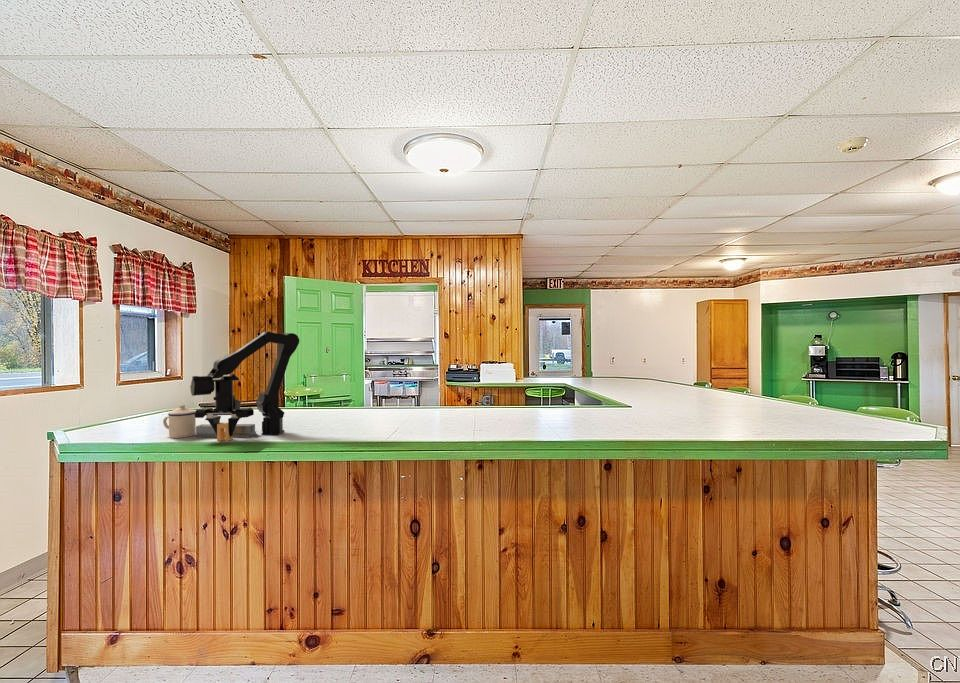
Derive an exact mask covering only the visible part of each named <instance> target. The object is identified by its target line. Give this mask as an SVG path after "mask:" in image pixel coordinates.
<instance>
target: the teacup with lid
mask: <svg viewBox="0 0 960 683" xmlns="http://www.w3.org/2000/svg"><path fill="white" fill-rule="evenodd" d="M195 411H196V410H195V409H192V408H190V407H188V406H186V404H179V405H178V407H177V408H175V409H173V410H171V411H169V412H168V413H167V415H168V416H165V417H164V418H163V420H162V423H163V426H164V428H165V429H166V430H168V437H170V438H171V437H172V439H179V438H180V439H181V438H182V437H184V438H190V437H193V436H195V435H196V426H197V425H196V424H197V423H196V420H197V418H195Z"/></svg>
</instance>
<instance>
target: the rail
mask: <svg viewBox="0 0 960 683" xmlns="http://www.w3.org/2000/svg"><path fill="white" fill-rule="evenodd" d="M255 435H257V431H256V424H255V423H237V424H236V427H235V429H234V432H233V435H232V438H251V437H253V436H255ZM195 437H216V439H217V435H216V433H215V431H214V429H213V427H212V426H211V424H210V423H208V424H206V423H204V424H202V423H201V424H198V425H196V434H195V435H194V438H195Z"/></svg>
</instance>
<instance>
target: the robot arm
mask: <svg viewBox="0 0 960 683" xmlns="http://www.w3.org/2000/svg"><path fill="white" fill-rule="evenodd" d="M269 343H272V344H277V356H276V360H275V363H274V366H273V369H272V372H271V375H270V378H269V381H268V385H267V387H266V389H265V390H264V392H259V393H258V398H257V400H256V401H255V404H256V408H257V411H258V412H260V413H261V415H262V417H263V419H262V421H261V435H263V436H264V435H265V436H266V435H274V436H275V435H280V434H282V433H284V432H285V430H284V428H283V427H284V424H283V419H284V417H285V416H284V415H285V412H284V411H283V410H282V409H281V408H280V407H279V402H280V396H279V395H280V394H279V393H280V389H281V386H282V383H283V380H284V377H285V373H286V370H287V368H288V364H289V361H290V359H291V356H293V354H294V353H295V351H296V350H297V349H298V346H299V344H300V337H299V336H298V335H297V334H295V333H293V332H291V333H290V332H286V333H275V332H271V331H263V332H261V333H260V334H259V335H258V336H256V337H255V338H253V339H252V340H250V341H249V342H247V343H246V344H245V345H243V346H242V347H240V348H239V349H237V350H236V351H233V352H232V353H230V354H226V355H224V356H222V357H220V358H217V359H216V360H215V361H214V362H213V367H212V368H211V370H210V371H209V373H208V374H207V375H200V376H199V375H198V376H197V375H193V376H192V377H191V383H190V385H189V386H190V395H191V396H193V397H195V396H207V395H211V394H212V393H215V395H214V397H213V401H215V407H214V408H213V407H202V408H197V409H196V410H195V419H202V418H205V419H204V420H205V421H208V422H209V423H208V424H211V426H212V427H213V429H214V431H215V433H216V435H217V424H219V423H221V418H222V416H230V417H229V418H228V422H227V423H228V424H229V435H230V437H231V436H232V435H233V432H234V429H235V427H236V424H238V422H239V420H240V419H242V418H244V419H245V418H249V417H252V416H254V414H255V411H254V409H253V407H241V405H242V402H241V400H239V399H236V395H235V394H234V381H239V380H240V378H239V377H238V376H236V374H235V373H233V372H234V371H235V370H236V369H237V368H238V367H239V366H240V365H241V363H242V362H243V361H245V360H246V359H248V358H249V357H250V356H251V355H253V354H254V353H256V352H257V351H259V350H261V349H262V348H263V347H264V346H266V345H267V344H269Z"/></svg>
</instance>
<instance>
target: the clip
mask: <svg viewBox="0 0 960 683" xmlns="http://www.w3.org/2000/svg"><path fill="white" fill-rule="evenodd" d="M223 440H224V441H225V442H226V441H227V442H229V441H231V440H233V437H232V436H231V437H230V435H229V424H228V422H220V423H219V424H217V438H216V442H217V441H218V442H219V441H220V442H221V441H223Z"/></svg>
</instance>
